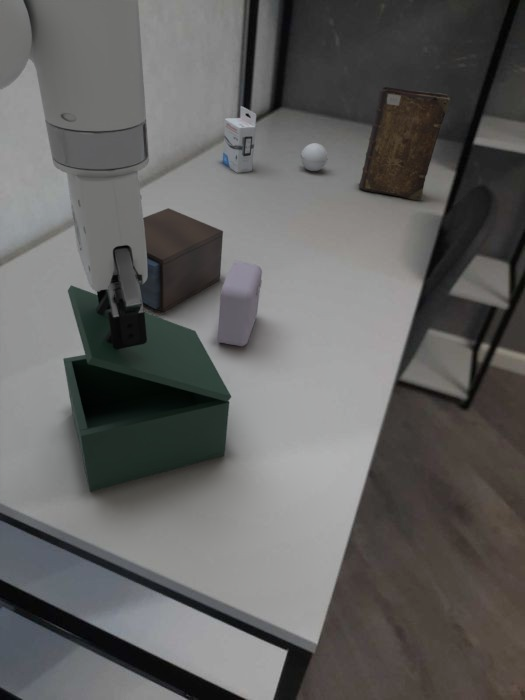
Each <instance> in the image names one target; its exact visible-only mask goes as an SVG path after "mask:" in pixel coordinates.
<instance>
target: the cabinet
mask: <svg viewBox="0 0 525 700" xmlns="http://www.w3.org/2000/svg"><path fill="white" fill-rule="evenodd" d="M143 220H144V229H145V240H146V251H147V257H149V258H151V259H153V260H155V261H157V262H159V264H160V296H161V306H160V307H159V308H157V309H156V310H158V311H160V312H162V313H165V312H167V311H169V310H171V309H172V308H174V307H176V306H178V305H179V304H181V303H183V302H184V301H187V299H189V298H191V297H193V296H195V295H196V294H198V293H200V292H202V291H204V290H205V289H207V288H208V287H211V286H212V285H214V284H215V283H217V282H219V281H221V270H222V269H221V268H222V252H223V236H224V231H223V230H222V229H219V228H217V227H215V226H212V225H209V224H207V223H205V222H202V221H200V220H198V219H196V218H193V217H190V216H188V215H186V214H184V213H181V212H179V211H176V210H174V209H171V208H169V207H168V208H165V209H162V210H160V211H157V212H155V213H152V214H150V215H147V216H145V217H144V216H143Z"/></svg>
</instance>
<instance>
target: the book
mask: <svg viewBox="0 0 525 700" xmlns="http://www.w3.org/2000/svg"><path fill="white" fill-rule="evenodd" d="M450 100H451V98H450V97H449V96H448V94H446V93H441V92H427V91H419V90H412V89H401V88H398V87H397V88H396V87H389V86H383V87H381V88H380V89H379V94H378V99H377V105H376V106H375V112H374V118H373V122H372V125H371V126H372V127H371V132H370V136H369V138H368V145H367V151H366V153H365V159H364V163H363V167H362V173H361V177H360V182H359V184H358V187H359V188H360V189H361V190H363V191H366V192H371V193H378V194H383V195H390V196H395V197H400V198H405V199H409V200H414V201H421V199H422V197H423V192H424V188H425V183H426V177H427V175H428V171H429V168H430V164H431V161H432V158H433V154H434V150H435V148H436V143H437V140H438V137H439V134H440V131H441V126H442V124H443V122H444V119H445V116H446V114H447V110H448V107H449V104H450Z"/></svg>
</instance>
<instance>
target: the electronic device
mask: <svg viewBox="0 0 525 700" xmlns="http://www.w3.org/2000/svg"><path fill="white" fill-rule="evenodd" d="M262 276H263V269H262V268H261V266H260V265H258V264H256V263H251V262H250V263H249V262H245V261H238V260H234V261H233V263H232V265H231V267H230V268H229V271H228V273H227V275H226V277H225V280H224V282H223V283H222V286H221V291H220V297H219V313H218V329H217V343H221V344H226V345H231V346H236V347H237V346H238V347H244V346H245V345H247V344H248V342H249V340H250V338H251V337H250V336H251V334H252V331H253V327H254V325H255V321H256V318H257V315H258V308H259V301H260V293H261V288H262V287H261V286H262Z"/></svg>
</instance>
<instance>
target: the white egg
mask: <svg viewBox="0 0 525 700" xmlns="http://www.w3.org/2000/svg"><path fill="white" fill-rule="evenodd" d="M300 160H301V164H302V165H303V167H304V168H305V169H306V170H308V171H310V172H318V171H320V170H322V169H323V168H324V167H325V165H326V164H327V161H328V153H327V149H326V148H325V146H324V145H322V144H320V143H317V142H313V143H310V144H307V145H306V146H305V147H304V148H303V149H302V151H301V154H300Z"/></svg>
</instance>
